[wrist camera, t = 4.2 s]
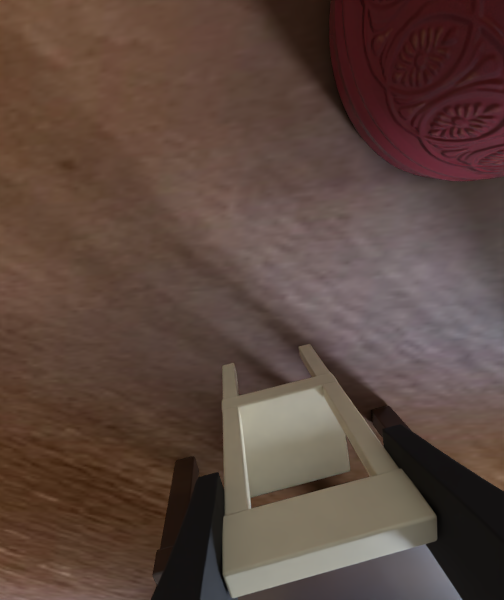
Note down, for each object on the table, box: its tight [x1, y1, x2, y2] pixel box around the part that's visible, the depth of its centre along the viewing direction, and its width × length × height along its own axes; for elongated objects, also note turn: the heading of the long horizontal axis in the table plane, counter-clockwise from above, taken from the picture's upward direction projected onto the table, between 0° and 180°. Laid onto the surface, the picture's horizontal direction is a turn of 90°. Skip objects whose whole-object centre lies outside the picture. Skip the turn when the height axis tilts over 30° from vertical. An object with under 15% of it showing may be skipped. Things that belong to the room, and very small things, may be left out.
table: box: [152, 406, 462, 600], centre depth 17 cm, size 12×14×6 cm
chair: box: [222, 344, 437, 598], centre depth 12 cm, size 5×5×10 cm
